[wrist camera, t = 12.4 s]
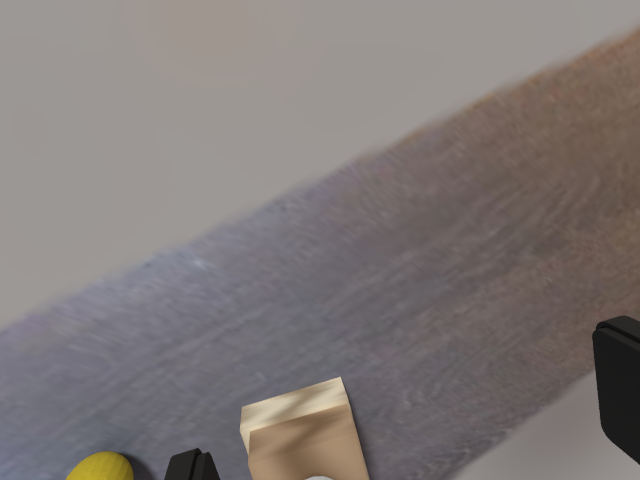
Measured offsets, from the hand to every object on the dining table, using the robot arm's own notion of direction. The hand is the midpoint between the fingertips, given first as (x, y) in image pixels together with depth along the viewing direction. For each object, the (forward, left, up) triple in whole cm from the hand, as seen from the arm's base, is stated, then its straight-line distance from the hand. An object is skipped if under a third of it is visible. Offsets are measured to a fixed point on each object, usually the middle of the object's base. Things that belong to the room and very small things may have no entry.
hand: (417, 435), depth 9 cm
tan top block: (+5, +21, -25) cm, 33 cm away
